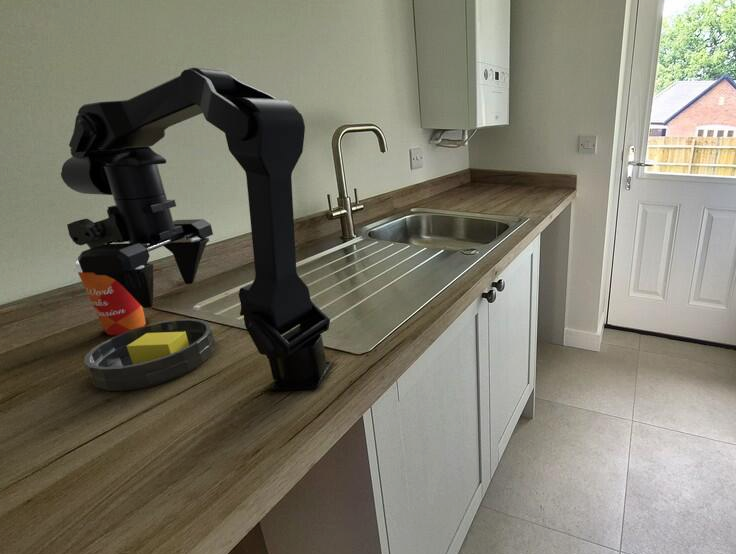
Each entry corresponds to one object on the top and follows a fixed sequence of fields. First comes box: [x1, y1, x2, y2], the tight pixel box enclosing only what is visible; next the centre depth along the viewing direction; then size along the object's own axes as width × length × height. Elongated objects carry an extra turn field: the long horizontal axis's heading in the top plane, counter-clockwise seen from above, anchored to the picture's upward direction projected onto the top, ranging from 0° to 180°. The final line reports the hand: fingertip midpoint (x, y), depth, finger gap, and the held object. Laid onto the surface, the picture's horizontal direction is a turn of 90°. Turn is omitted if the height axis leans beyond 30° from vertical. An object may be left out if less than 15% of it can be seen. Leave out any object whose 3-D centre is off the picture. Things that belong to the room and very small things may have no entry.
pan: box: [83, 318, 217, 392], centre depth 65 cm, size 15×15×4 cm
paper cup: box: [73, 260, 147, 336], centre depth 75 cm, size 8×8×14 cm
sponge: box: [127, 332, 189, 365], centre depth 65 cm, size 6×4×4 cm, turn 94°
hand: (170, 294), depth 64 cm, fingers open, 9 cm apart
